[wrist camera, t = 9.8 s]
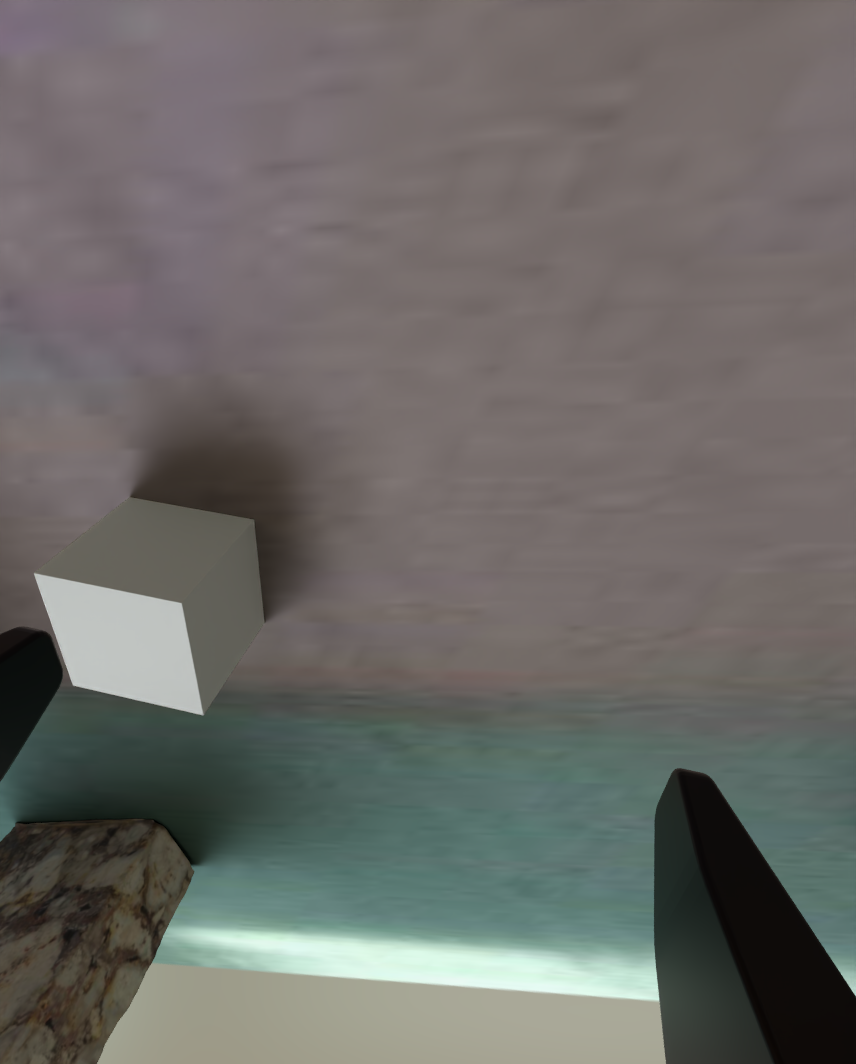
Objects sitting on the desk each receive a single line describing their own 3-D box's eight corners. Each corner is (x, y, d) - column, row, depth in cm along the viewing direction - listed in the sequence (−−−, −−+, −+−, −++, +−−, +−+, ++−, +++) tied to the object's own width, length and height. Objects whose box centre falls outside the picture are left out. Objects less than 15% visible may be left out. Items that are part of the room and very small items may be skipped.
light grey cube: (255, 518, 23) (181, 603, 19) (265, 621, 26) (203, 715, 21) (130, 496, 24) (33, 573, 19) (153, 599, 26) (73, 685, 22)
